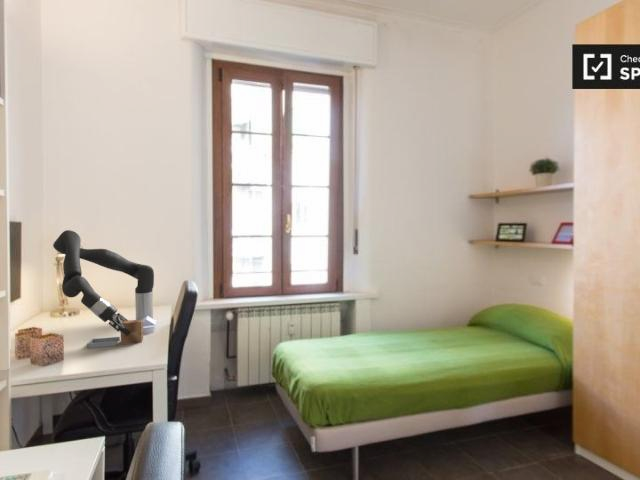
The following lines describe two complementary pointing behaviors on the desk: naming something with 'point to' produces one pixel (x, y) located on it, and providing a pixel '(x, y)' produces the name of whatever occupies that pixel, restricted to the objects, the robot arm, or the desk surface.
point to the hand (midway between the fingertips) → (130, 331)
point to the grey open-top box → (103, 342)
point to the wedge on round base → (148, 325)
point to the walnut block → (132, 332)
